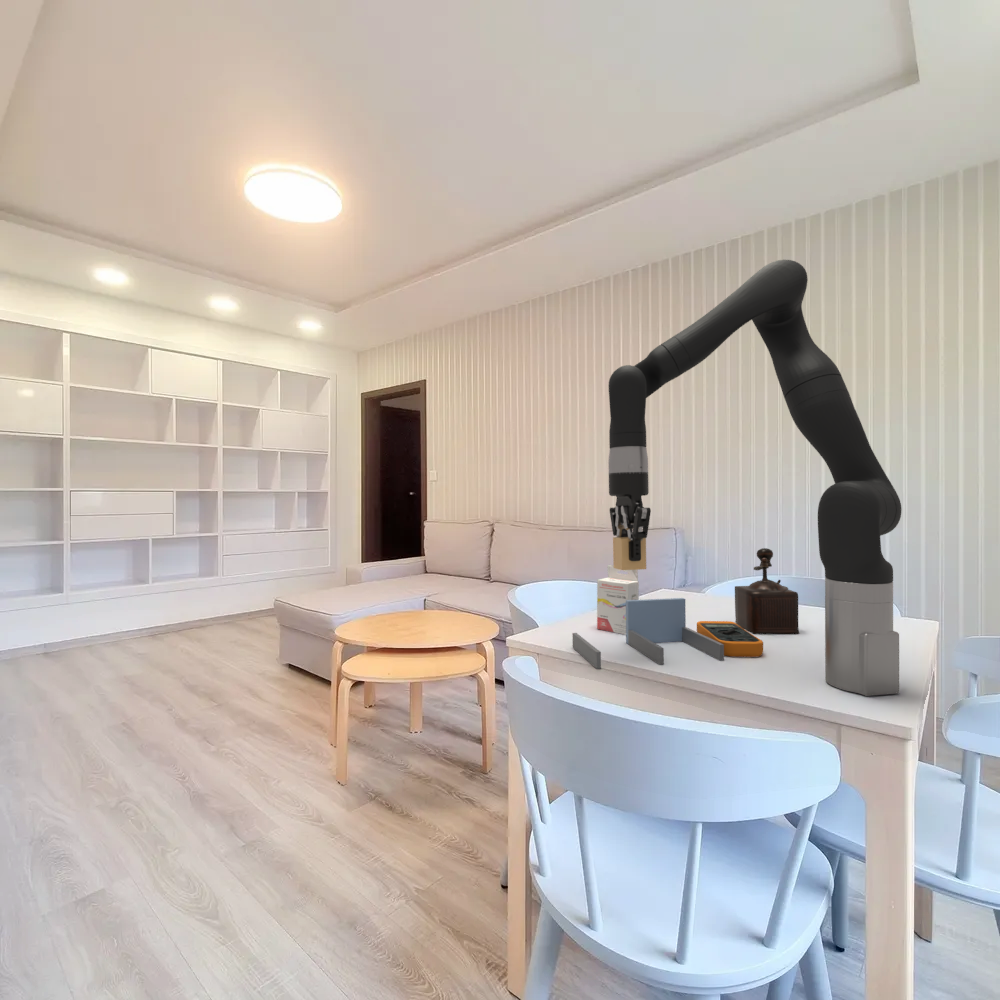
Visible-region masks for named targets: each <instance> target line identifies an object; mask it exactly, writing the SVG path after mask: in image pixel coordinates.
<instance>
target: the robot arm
mask: <svg viewBox="0 0 1000 1000" xmlns="http://www.w3.org/2000/svg"><path fill="white" fill-rule="evenodd" d="M807 287H808V272H807V270H806V269H805V267H804V266H803V265H802V264H801V263H799V262H797V261H796V260H792V259H779V260H775V261H771V262H770V263H768V264H766V265H764V266H763V267H762V268H760V269H758V270H757V271H756V272H755V273H754V274H753V275H752V276H750V277H749V278H748V279H747V280H746V281H745V282H744V283H742V284H741V285H740V286H739V287H738V288H737V289H736V290H735V291H733V292H732V293H731V294H730V295H728V296H727V297H725V298H724V300H722V301H721V302H720V303H718V304H717V305H716V306H715V307H713V308H712V309H711V310H709V311H708V312H707V313H706V314H704V315H703V316H702V317H700V318H699V319H697V320H696V321H694V322H693V323H692V324H690V325H688V326H687V327H686V328H684V329H683V330H681V331H680V332H678V333H677V334H674V335H673V336H671V337H670V338H669V339H667V340H665V341H664V342H662V343H661V344H659V345H658V346H656V347H655V348H653V349H652V350H651V351H650V352H649V353H648V354H647V356H646V357H645V358H644V359H642V360H640V361H639V362H638V363H636V364H635V365H630V364H627V365H622V366H620V367H618V368H617V369H615V370H614V371H613V372H612V374H611V375H610V378H609V380H608V398H609V399H608V400H609V414H610V415H609V416H610V421H609V433H608V434H609V437H608V440H609V441H608V442H609V444H608V445H609V453H608V454H609V455H608V462H607V463H608V494H609V496H611V497H616V502H615V507H610V508H609V514H610V515H609V516H610V517H609V518H610V523H611V530H612V535H613V537H614V536H615V537H628V540H629V541H630V542H629V560H630V561H640V560H641V541H642V540H643V538H646V539H647V537H648V533H649V532H648V531H649V525H650V520H651V519H650V518H651V514H652V513H651V508H650V507H644V505H643V500H642V498H643V496H648V495H649V456H648V452H647V451H648V450H647V426H646V406H647V398H649V397H650V396H652V394H654V393H655V392H656V391H658V390H659V389H661V388H662V387H663V386H664V385H666V384H668V383H669V382H671V381H673V380H674V379H675V380H676V378H678V377H680V376H681V375H683V374H685V373H686V372H688V371H689V370H691V369H692V368H694V367H696V366H698V365H699V364H700V363H702V362H703V361H705V359H707V358H708V357H709V356H710V355H712V354H713V353H714V352H715V351H716V350H717V349H718V348H719V347H720V346H721V345H722V344H723V343H724V342H725V341H726V340H728V339H729V338H730V337H731V336H732V335H733V334H734V333H735V332H737V331H738V330H739V329H740V328H741V327H743V326H744V325H746V324H748V323H749V322H750V321H752V323H753V324H754V326H755V328H756V330H757V332H758V334H759V335H760V337H761V339H762V341H763V342H764V345H765V346H766V348H767V351H768V352H769V356H770V357H771V361H772V365H773V368H774V371H775V375H776V377H777V380H778V383H779V386H780V389H781V391H782V395H783V398H784V401H785V403H786V405H787V409H788V411H789V414H790V416H791V418H792V420H793V422H794V424H795V426H796V428H797V429H798V430H799V431H800V433H801V434H802V436H803V437H804V438H805V439H806V440H807V442H808V443H809V444H810V445H811V446H812V447H813V449H815V451H816V452H817V453H818V454H819V456H821V458H822V459H823V461H824V462H825V464H826V465H827V467H828V470H829V471H830V474H831V476H832V478H833V482H834V484H832V485H830V486H829V487H828V488H826V490H825V491H824V492H823V493H822V495H821V497H820V498H819V502H818V507H817V534H818V535H817V537H818V550H819V551H818V552H819V558H820V561H821V563H822V565H823V568H824V585H825V586H824V595H825V596H824V600H825V601H824V605H825V606H824V608H825V609H824V611H825V612H824V613H825V614H824V628H825V629H824V640H825V641H824V644H825V645H824V648H825V649H824V650H825V651H824V652H825V653H824V657H825V661H824V663H825V666H824V667H825V673H824V674H825V676H824V677H825V682H826V683H827V684H829V685H831V686H832V687H834V688H837V689H839V690H843V691H847V692H851V693H856V694H861V695H862V696H865V697H870V696H873V697H874V696H882V695H893V694H894V695H896V694H900V633H899V632H897V631H895V630H894V582H893V581H894V567H893V565H892V564H891V563H890V562H889V561H887V559H885V557H884V554H883V553H882V543H881V536H884V535H887V534H889V533H890V532H892V531H893V530H895V529H896V528H897V526H898V524H899V522H900V521H901V517H902V503H901V500H900V497H899V495H898V493H897V491H896V489H895V487H894V485H893V484H892V483H891V481H890V479H889V477H888V476H887V474H886V472H885V470H884V469H883V467H882V465H881V463H880V461H879V460H878V458H877V457H876V454H875V453H874V451H873V449H872V447H871V444H870V441H869V439H868V436H867V435H866V431H865V428H864V427H863V425H862V422H861V419H860V418H859V415H858V413H857V410H856V408H855V405H854V403H853V400H852V398H851V395H850V392H849V390H848V387H847V385H846V383H845V381H844V379H843V376H842V374H841V371H840V370H839V368H838V367H837V365H836V364H835V362H834V361H833V360H832V359H831V357H830V356H828V355H827V354H826V353H825V352H824V351H823V350H822V349H821V348H819V346H818V345H817V344H816V343H815V342H814V340H813V338H812V337H811V334H810V332H809V330H808V327H807V324H806V321H805V317H804V314H803V308H802V304H803V301H804V298H805V296H806V295H805V294H806V292H807Z"/></svg>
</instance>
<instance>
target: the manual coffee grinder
mask: <svg viewBox="0 0 1000 1000" xmlns="http://www.w3.org/2000/svg"><path fill="white" fill-rule="evenodd" d="M756 557H757V558H758V559H759V561H760V564H759V566H758V565H757V566H754V567H753V570H754V571H761V570H762V579H760V580H756V581H754V582H752V583H750V584H749V585H736V586H734V611H735V612H734V613H735V621H734V623H736V624H737V625H739V626H740V627H741V628H743V629H744V630H746V631H747V632H749V633H751V634H752V635H799V634H800V631H799V594H798V592H797V591H794V590H791V589H789V587H788V586H785V585H782V584H780V583H781V581H782V580H781V579H778V580H777V581H774V580H772V579H771V580H770V579H769V578H768V569H769V568H771V567H772V565H773V564H772V563H771V559H772V558H773V557H774V552H773V550H772V549H770V548H765V547H763V548H760V549H758V550H757V551H756Z"/></svg>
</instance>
